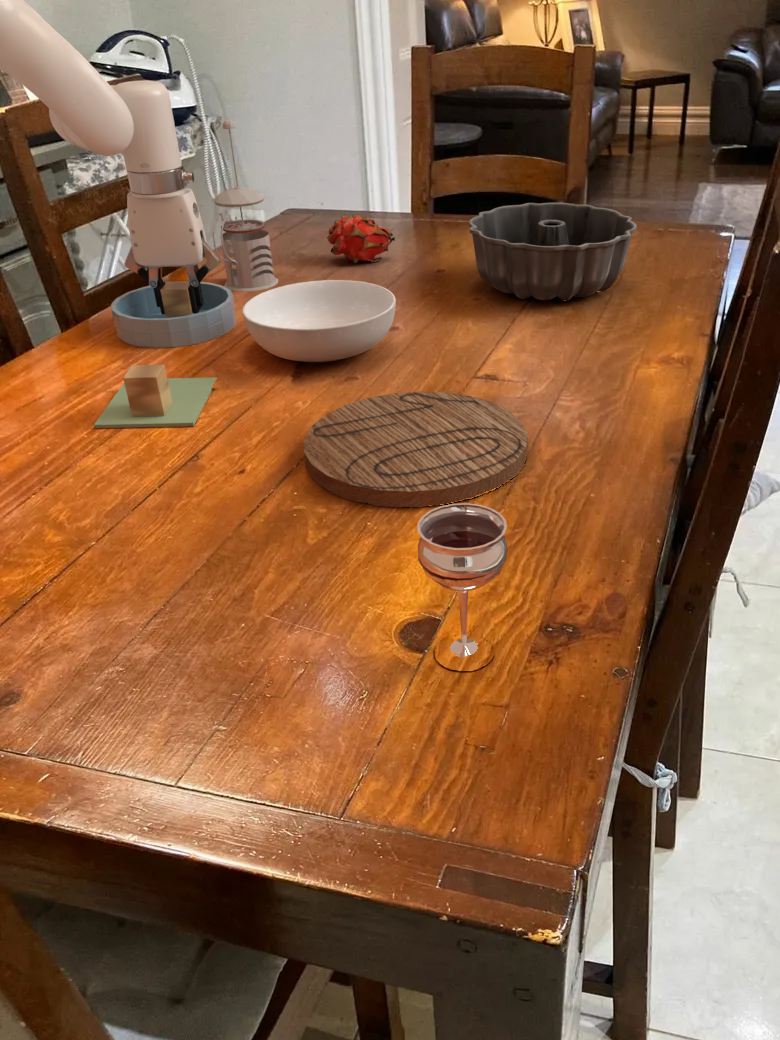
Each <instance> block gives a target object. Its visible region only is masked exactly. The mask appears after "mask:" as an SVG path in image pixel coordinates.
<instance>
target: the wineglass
mask: <svg viewBox="0 0 780 1040" xmlns="http://www.w3.org/2000/svg"><path fill="white" fill-rule="evenodd" d="M416 525H417V526H416V527H417V528H416V529H417V533H418V535H420V537H419V539H418V543H417V560H418V562H419V565H420V566H421V569H422V570H423V572H424V573H425V575H426V576H427V577H428V578H429V579H430V580H431V581H433V582H435V583H437V584H438V585H439V586H441V587H442V588H444V589H447V590H449V591H454V592H457V593H458V607H459V620H460V622H459V623H460V634H461V637H462V639H459V640H456V641H454V642H453V643H452V644H451V646H450V651H451V653H456V654H458V655H455V656H458V657H462V658H464V657H466V656H468V655H472V654H474V653H475V652H476V651H477V649H478V646H477V645H478V643H475V641H473V640H471V639H467V634H468V616H469V615H468V614H469V613H468V611H469V610H468V609H469V607H468V606H469V592H471V591H475V590H479V589H481V588H483V587H484V586H486V585H487V584H489V583H490V582H492V581H493V580H494V579H496V578H497V577H498V575H499V574H500V573H501V571H502V569H503V567H504V565H505V562H506V560H507V555H508V545H507V544H508V543H507V540H506V536H505V533H506V531H507V529H508V525H507V520H506V518H505V517H504V516H503V515H502V513H500V512H499V511H497V510H495V509H493V508H491V507H488V506H485V505H483V504H476V503H470V502H469V503H468V502H459V503H452V504H448V505H442V506H437V507H435V508H433V509H431V510H429V511H427V512H426V513H425V514H423V515H422V516H421V517H420V518H419V520H418V522H417V524H416Z"/></svg>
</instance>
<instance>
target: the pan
mask: <svg viewBox="0 0 780 1040" xmlns="http://www.w3.org/2000/svg"><path fill="white" fill-rule="evenodd" d="M200 284H201V289H202V295H203V301H204V304H203V306H201V309H200V311H199V313H196V314H192V315H187V316H180V317H172V318H166V315H165V314H161V309H160V307H157V304H156V299H155V294H154V290H153V288H152V287H151V286H150V285H147V286H142V287H139V288H137V289H133V290H130V291H127V292H125V293H123V294H121V295H120V296H118V297H115V299H114V300H113V301H112V303H111V304H110V308H111V309H110V310H111V314H112V318H113V323H114V327H115V332H116V335H117V337H118V339H119V340H121V342H124V343H126V344H128V345H131V346H135V347H140V348H149V349H150V348H151V349H170V348H181V347H188V346H194V345H198V344H203V343H207V342H211V341H213V340H217V339H219V338H221V337H224V336H225V335H227V334H229V333H230V332H232V330H234V329H235V327H236V326H237V323H238V317H237V311H236V305H235V298H234V294H233V291H232V290H230V289H228V288H226V287H225V286H224V285H221V284H217V283H212V282H207V281H206V282H205V281H201V282H200Z"/></svg>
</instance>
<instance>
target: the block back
mask: <svg viewBox="0 0 780 1040" xmlns="http://www.w3.org/2000/svg"><path fill="white" fill-rule="evenodd" d="M189 282H190V281H189V280H187V281H185V280H184V281H167V282H165V283H166V284H165V285H164V286H163V288H162V289H161V290H160V291H161V296H162V301H163V305H164V310H165V315H166V318H172V317H180V316H187V315H192V314H194V313H193V312H192V308H191V302H190V297H189V291H188V287H189V286H190V284H189ZM198 313H199V312H198Z"/></svg>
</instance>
